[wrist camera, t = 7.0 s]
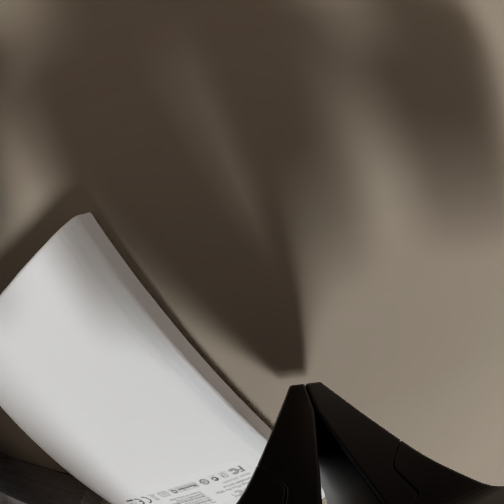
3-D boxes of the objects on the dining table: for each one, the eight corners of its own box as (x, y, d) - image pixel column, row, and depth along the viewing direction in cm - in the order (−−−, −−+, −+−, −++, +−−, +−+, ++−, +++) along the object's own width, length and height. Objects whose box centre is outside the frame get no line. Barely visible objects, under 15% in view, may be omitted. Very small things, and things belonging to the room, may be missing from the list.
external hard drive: (99, 208, 8) (323, 469, 11) (-22, 337, 9) (174, 520, 11) (71, 216, 7) (331, 499, 9) (-45, 354, 7) (170, 544, 10)
